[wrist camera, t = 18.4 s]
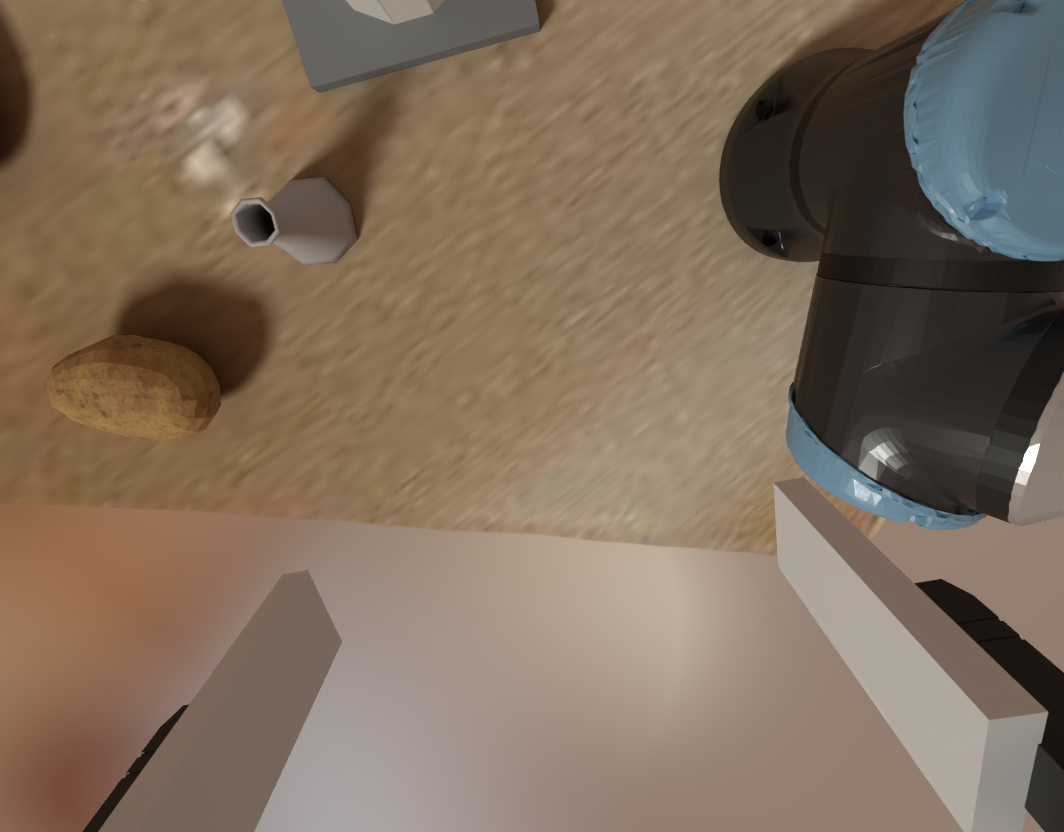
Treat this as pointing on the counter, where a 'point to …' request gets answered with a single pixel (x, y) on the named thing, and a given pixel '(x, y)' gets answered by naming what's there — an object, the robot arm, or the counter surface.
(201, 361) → the potato
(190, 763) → the robot arm
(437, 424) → the counter surface
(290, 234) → the flask
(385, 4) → the white cylinder
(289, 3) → the slate board
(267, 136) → the counter surface
